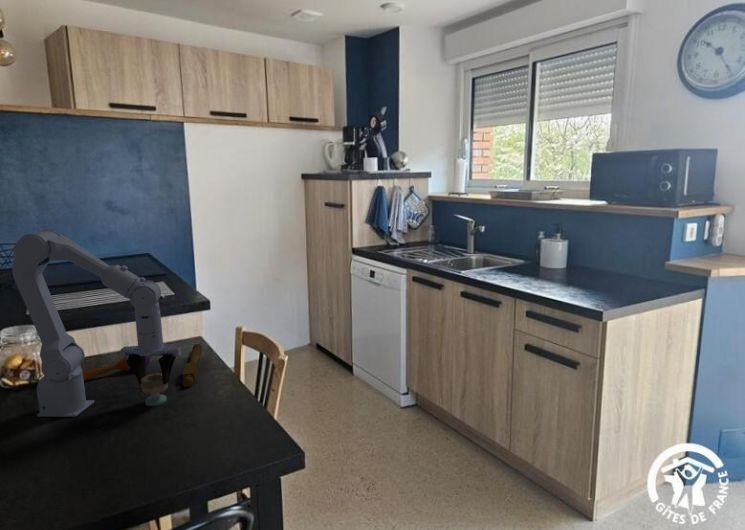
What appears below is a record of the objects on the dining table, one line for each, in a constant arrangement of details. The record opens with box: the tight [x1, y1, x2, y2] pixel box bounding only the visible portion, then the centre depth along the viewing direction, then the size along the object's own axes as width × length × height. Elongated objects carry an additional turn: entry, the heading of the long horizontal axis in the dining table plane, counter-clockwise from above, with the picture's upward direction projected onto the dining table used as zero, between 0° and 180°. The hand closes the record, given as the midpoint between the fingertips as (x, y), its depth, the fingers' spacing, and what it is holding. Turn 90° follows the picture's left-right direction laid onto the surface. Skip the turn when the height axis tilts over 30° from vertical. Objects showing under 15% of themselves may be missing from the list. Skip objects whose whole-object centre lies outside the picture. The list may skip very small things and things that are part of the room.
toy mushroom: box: [144, 392, 168, 407], centre depth 124 cm, size 5×5×5 cm
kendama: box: [82, 356, 151, 382], centre depth 142 cm, size 6×6×20 cm
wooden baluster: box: [182, 343, 203, 388], centre depth 147 cm, size 3×3×30 cm
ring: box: [140, 372, 169, 395], centre depth 124 cm, size 6×6×3 cm
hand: (154, 382), depth 124 cm, fingers closed on ring, 5 cm apart
